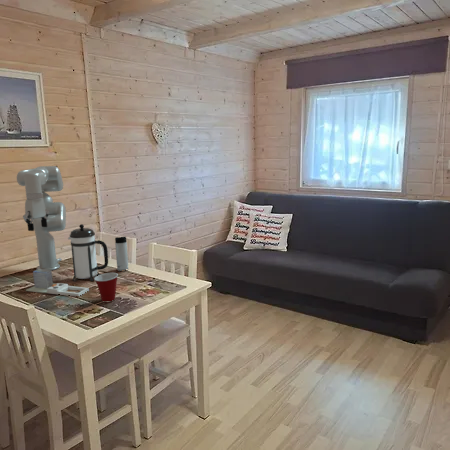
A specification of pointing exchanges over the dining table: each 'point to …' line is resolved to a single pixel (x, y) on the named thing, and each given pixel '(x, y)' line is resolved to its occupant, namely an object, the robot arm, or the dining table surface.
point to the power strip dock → (65, 289)
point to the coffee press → (85, 253)
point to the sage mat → (38, 289)
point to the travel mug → (121, 253)
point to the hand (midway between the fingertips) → (38, 228)
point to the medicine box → (42, 278)
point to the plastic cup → (107, 285)
